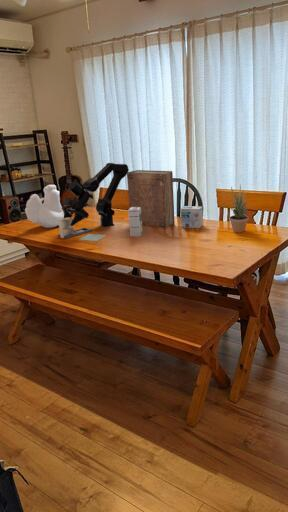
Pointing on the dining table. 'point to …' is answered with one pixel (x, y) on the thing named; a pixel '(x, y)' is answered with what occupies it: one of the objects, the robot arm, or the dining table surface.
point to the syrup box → (135, 221)
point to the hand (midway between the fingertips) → (67, 224)
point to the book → (152, 196)
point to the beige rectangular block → (65, 227)
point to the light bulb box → (191, 216)
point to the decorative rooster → (45, 208)
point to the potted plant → (239, 213)
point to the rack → (77, 233)
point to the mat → (92, 237)
